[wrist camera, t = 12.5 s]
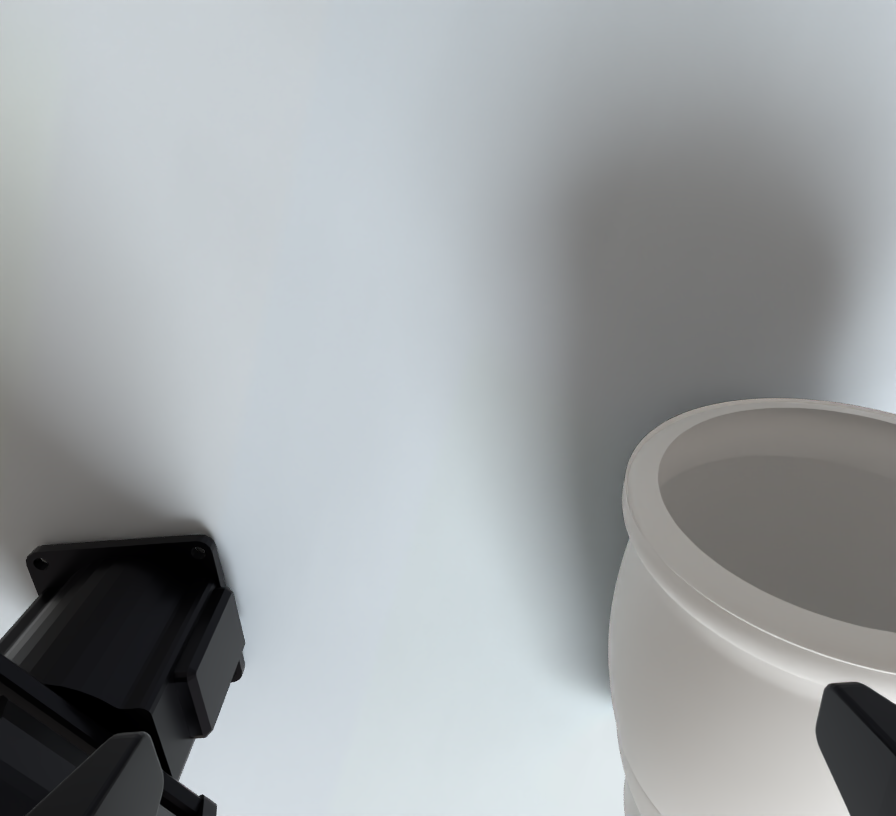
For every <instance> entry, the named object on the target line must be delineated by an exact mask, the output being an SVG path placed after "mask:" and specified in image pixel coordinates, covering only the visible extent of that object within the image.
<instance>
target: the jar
mask: <svg viewBox="0 0 896 816" xmlns="http://www.w3.org/2000/svg"><path fill="white" fill-rule="evenodd" d="M622 509H623V516H624V521H625V526H626V529H627V532H628V535H629V537H630V538H629V541H628V544H627V546H626V549H625V552H624V556H623V559H622V562H621V566H620V569H619V573H618V577H617V582H616V586H615V591H614V596H613V602H612V608H611V615H610V625H609V640H608V663H609V679H610V689H611V697H612V704H613V710H614V715H615V720H616V726H617V736H618V744H619V750H620V755H621V760H622V764H623V768H624V772H625V775H626V776H625V782H624V811H625V816H850V814H849V812H848V810H847V807H846V805H845V803H844V801H843V799H842V796H841V794H840V792H839V790H838V788H837V785H836V783H835V781H834V779H833V777H832V775H831V772H830V770H829V768H828V766H827V764H826V761H825V759H824V757H823V755H822V753H821V750H820V748H819V746H818V742H817V739H816V733H815V727H816V721H817V717H818V712H819V708H820V704H821V699H822V695H823V691H824V688H825V687H826V686H827V685H828V684H830V683H840V682H860V683H862V684H864V685H866V686H868V687H870V688H871V689H873V690H874V691H876V692H877V693H879V694H880V695H882V696H884V697H885V698H887V699H888V700H890V701H891V702H893V703H894V704H896V414H892V413H888V412H884V411H880V410H875V409H871V408H866V407H861V406H855V405H850V404H843V403H836V402H829V401H820V400H809V399H792V398H761V399H746V400H736V401H729V402H723V403H717V404H713V405H708V406H704V407H700V408H697V409H694V410H691V411H688V412H685V413H683V414H680V415H678V416H676V417H673V418H671V419H669V420H668V421H666V422H664V423H662V424H661V425H659V426H658V427H656V428H655V429H654V430H652V431H651V432H650V433H649V434H648V435H646V436H645V437H644V438H643V439H642V441H641V442H640V443H639V444H638V445H637V447H636V448H635V450H634V451H633V453H632V455H631V457H630V459H629V462H628V465H627V469H626V474H625V480H624V485H623V492H622Z"/></svg>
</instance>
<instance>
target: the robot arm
mask: <svg viewBox="0 0 896 816" xmlns="http://www.w3.org/2000/svg"><path fill="white" fill-rule="evenodd" d="M195 547H200V548H202V549H204V551H205V552H204V553H203V552H199V551H197V550H196V548H195ZM41 558H43V559H44V560H46V561H47V562H48V563H45V562H44V561H42V560H41ZM26 564H27V567H28V570H29V572H30V575H31V578H32V580H33V583H34V585H35V588H36V590H37V593H38V598H37V599H36V600H35V601H34V602H33V603H32V604H31V606H30V607H29V608H28V609H27V610H26V611H25V612H24V613H23V615H22V616H21V617H20V618H19V619H18V620H17V621H16V623H15V624H14V625H13V626H12V627H11V628H10V629H9V631H8V632H7V633H6V634H5V635H4V636H3V637H2V638H1V640H0V816H216V811H217V805H216V804H215V803H214V802H213V801H211V800H210V799H209V798H207V797H206V796H204V795H203V794H202V795H200V796H198V795H197V794H195V793H194V792H192V791H191V790H190V789H188V788H187V787H185V786H184V785H183V784H181V783H180V782H179V779H180V776H181V774H182V771H183V769H184V766H185V764H186V761H187V759H188V756H189V754H190V751H191V748H192V746H193V743H194V741H195V738H205V737H207V736H208V735H209V734H210V733H211V731H212V730H213V729H214V726H215V723H216V721H217V718H218V715H219V713H220V710H221V707H222V704H223V702H224V699H225V696H226V694H227V691H228V688H229V686H230V683H231V682H235V681H238V680H239V679H240V678H241V676H242V674H243V671H244V668H245V662H244V658H243V654H242V651H243V648H244V645H245V640H244V635H243V631H242V627H241V623H240V619H239V615H238V610H237V606H236V602H235V598H234V594H233V592H232V591H231V590H230V588H229V587H226V584H225V580H224V576H223V572H222V568H221V564H220V560H219V556H218V552H217V547H216V544H215V542H214V541H213V540H212V539H211V538H210V537H208V536H206V535H186V536H171V537H157V538H143V539H128V540H114V541H100V542H85V543H71V544H57V545H43V546H39V547H37V548H36V549H35V550H33V552H32V553H31V554H30V555H29V556H28V557H27V559H26ZM815 733H816V739H817V742H818V746H819V748H820V750H821V753H822V755H823V757H824V759H825V761H826V764H827V766H828V768H829V770H830V772H831V775H832V777H833V779H834V781H835V783H836V785H837V788H838V790H839V792H840V794H841V796H842V799H843V801H844V803H845V805H846V807H847V810H848V812H849V814H850V816H896V704H894V703H893V702H891V701H890V700H888V699H887V698H885V697H884V696H882V695H880V694H879V693H877V692H876V691H874V690H873V689H871V688H870V687H868V686H866V685H864V684H862V683H860V682H840V683H830V684H828V685H827V686H826V687H825V688H824V691H823V695H822V699H821V704H820V708H819V712H818V717H817V721H816V727H815Z"/></svg>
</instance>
